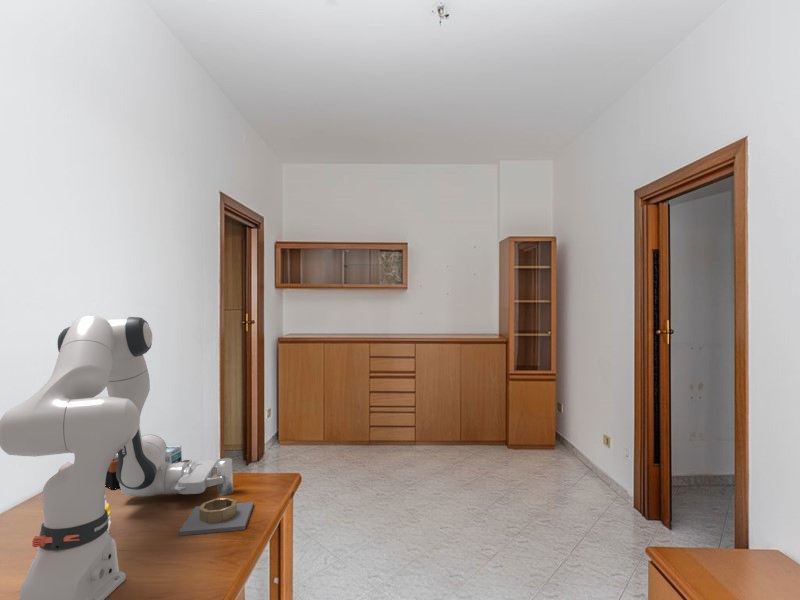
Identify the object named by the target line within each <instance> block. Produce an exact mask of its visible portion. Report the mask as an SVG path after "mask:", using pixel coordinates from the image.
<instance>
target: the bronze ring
mask: <svg viewBox="0 0 800 600" xmlns="http://www.w3.org/2000/svg"><path fill="white" fill-rule="evenodd" d="M237 503H238V501H237V500H236V499H233V498H230V497H222V498H212V499H210V500H208V501H205V502H202V503H201V505H200V506H201V507H200V508H199V518H200V521H203V522H205V523H207V524H209V523H220V522H224V521H227V520H229V519H232V518H234V517H235V515H236V513H237Z"/></svg>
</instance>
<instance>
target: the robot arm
mask: <svg viewBox="0 0 800 600" xmlns="http://www.w3.org/2000/svg"><path fill="white" fill-rule="evenodd" d="M152 343H153V331H152V329H151V327H150V325H149V323H148V321H147V320H146V319H144V318H143V317H139V316H138V317H137V316H128V317H127V318H126V317H125V318H124V317H123V318H113V319H111V318H110V319H105V318H103V317H101V316H97V315H83V316H81V317H79V318H76V319H75V320H74V321H73V322H72V324H71V325H70V326H69V327H66V328H64V329H62V331H61V332H60V334H59V335H58V338H57V350H58V357H57V359H56V363H55V365H54V368H53V370H52V373H51V375H50V377H49V379H48V380H47V382H46V383H45V384H44V385H43V386H42V387H41V388H40V389H39V390H38V391H36V393H34V394H33V395H32V396H30V397H29V398H28V399H27V400H24V401H23V402H21V403H19V404H17V405H15V406H13V407H11V408H9V409H8V410H7V411H6V412H4V414H3V415H2V417H0V449H1V450H2V451H3V452H4V453H5V454H7V455H9V456H17V457H18V456H19V457H20V456H21V457H36V458H37V457H43V456H52V455H61V454H73V455H74V462H73V463H72V465H71V466H69V467H67V468H65V469H63V470H61V471H60V472H58V471H57V474H56V473H55V474H53V475H52V476H51V477H50V478H49V479H48V480H47V481H46V483H45V484H44V486H43V489H42V493H41V494H42V515H43V516H42V517H43V518H42V519H43V522H42V524H41V527H40V531H39V535H35V536H33V539H32V541H31V542H32V543H31V544H32V547H33V548H38V550H37V552H36V555H35V557H34V558H33V559H32V563H31V564H30V566H29V569H28V571H27V573H26V575H25V578H24V580H23V581H22V584H21V587H20V590H19V600H105V599H106V598H108V596H110V595H111V594H112V593H113V592H114V591H115V590H116V589H117V588H118V587H119V586H120V585H121V584H122V583H123V582H124V581H126V578H127V577H126V576H127V575H126V573H125V571H121V570H120V568H119V567H120V566H119V560H118V550H117V544H116V540H115V539H114V538H113V537H112V536H111V535H110V534H109V531H108V528H109V515H108V510H107V509H106V501H105V500H106V486H105V481H106V475H107V471H108V468H109V466H110V464H111V462H112V460H113V458H114V457H115V456H116V455H118V466H117V470H116V477H117V480H118V481H119V485H120V488H119V489H120V490H121V492H122V493H123V494H124V495H126V496H128V497H129V496H130V497H154V496H155V495H165V496H166V495H177V494H180V495H197V494H198V495H199V494H202V493H204V492H205V491H206V489H207V488H208V487H212V486H217V485H218V484H222V483H223V482H224V477H223V476H221V477H220V476H219V477H215V476H216V475H217V460H213V459H199V460H192V459H190V458H187V459H184V460H182V462H179V463H173V464H167V463H166V462H165V459H166V446H167V443H166V442H165V440H164V439H163V438H162V437H160V436H158V435H157V434H156V435H155V434H144V435H142V433H141V427H140V424H141V423H140V422H141V416H142V415H141V414H142V411H143V408H144V405H145V403H146V401H147V398H148V395H149V393H150V390H151V389H150V388H151V387H150V386H151V385H150V381H151V380H150V373H149V370H148V366H147V363H146V360H145V359H146V358H145V356H144V355H145V354H147V353H148V352H149V350H150V349H151V348H152V345H153V344H152ZM105 388H106V391H107V394H108V396H98V395H100V394H101V393H102V392H103V391H104V390H105Z"/></svg>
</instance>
